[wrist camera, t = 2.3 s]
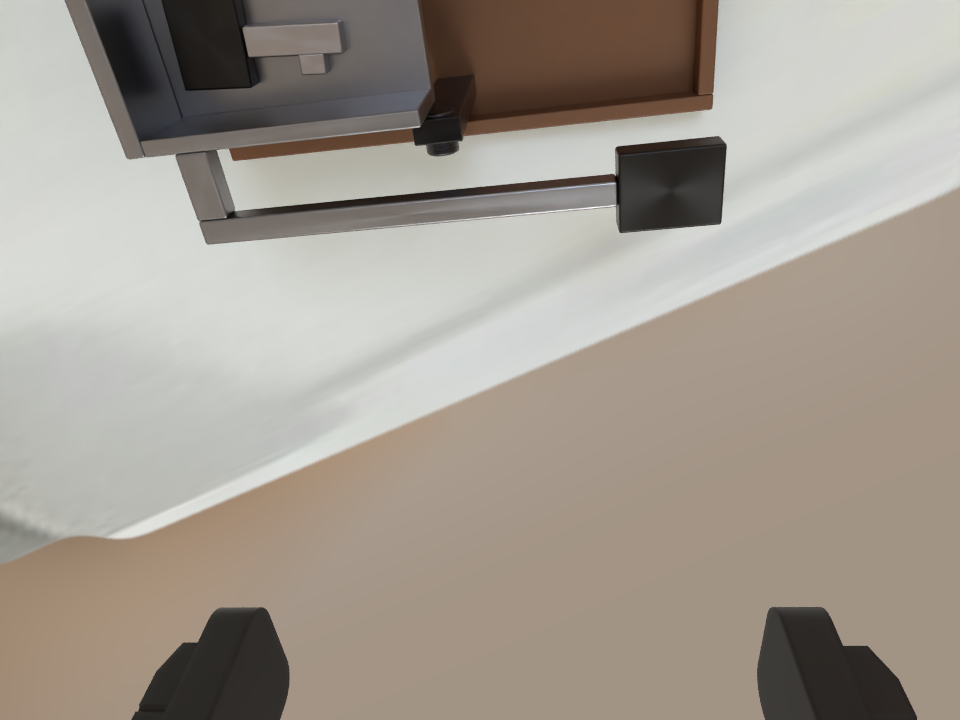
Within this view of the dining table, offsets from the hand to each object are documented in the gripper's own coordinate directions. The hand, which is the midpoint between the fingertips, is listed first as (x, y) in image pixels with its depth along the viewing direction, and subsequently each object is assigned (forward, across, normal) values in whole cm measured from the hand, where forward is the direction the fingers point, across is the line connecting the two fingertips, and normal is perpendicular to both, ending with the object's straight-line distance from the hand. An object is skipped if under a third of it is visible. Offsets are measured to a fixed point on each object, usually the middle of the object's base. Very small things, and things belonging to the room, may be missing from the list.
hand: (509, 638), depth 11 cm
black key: (+16, +8, -8) cm, 19 cm away
